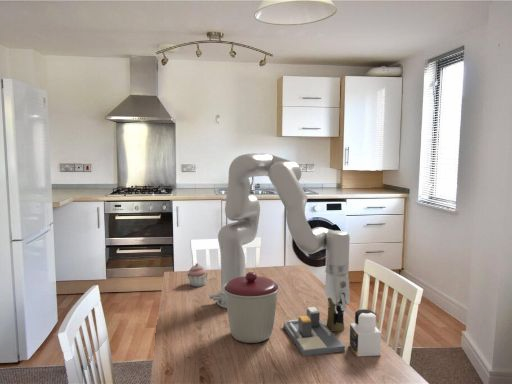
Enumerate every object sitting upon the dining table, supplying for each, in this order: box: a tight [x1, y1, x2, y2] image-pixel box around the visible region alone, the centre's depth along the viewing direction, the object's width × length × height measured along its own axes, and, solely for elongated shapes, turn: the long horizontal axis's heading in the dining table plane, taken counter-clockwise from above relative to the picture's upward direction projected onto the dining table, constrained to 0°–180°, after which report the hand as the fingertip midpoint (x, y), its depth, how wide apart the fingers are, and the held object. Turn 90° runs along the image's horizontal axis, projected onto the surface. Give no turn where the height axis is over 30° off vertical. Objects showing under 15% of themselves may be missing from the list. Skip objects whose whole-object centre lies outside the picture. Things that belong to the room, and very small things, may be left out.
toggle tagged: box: [297, 315, 312, 337], centre depth 128 cm, size 3×4×5 cm
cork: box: [326, 297, 345, 332], centre depth 135 cm, size 6×6×11 cm
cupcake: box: [186, 262, 208, 288], centre depth 179 cm, size 9×9×10 cm
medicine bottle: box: [349, 308, 382, 358], centre depth 120 cm, size 7×7×12 cm
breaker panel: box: [283, 319, 346, 357], centre depth 129 cm, size 13×20×2 cm, turn 13°
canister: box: [223, 271, 280, 344], centre depth 129 cm, size 18×18×21 cm
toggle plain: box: [306, 306, 321, 327], centre depth 135 cm, size 3×4×5 cm
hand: (335, 320), depth 136 cm, fingers closed on cork, 3 cm apart
